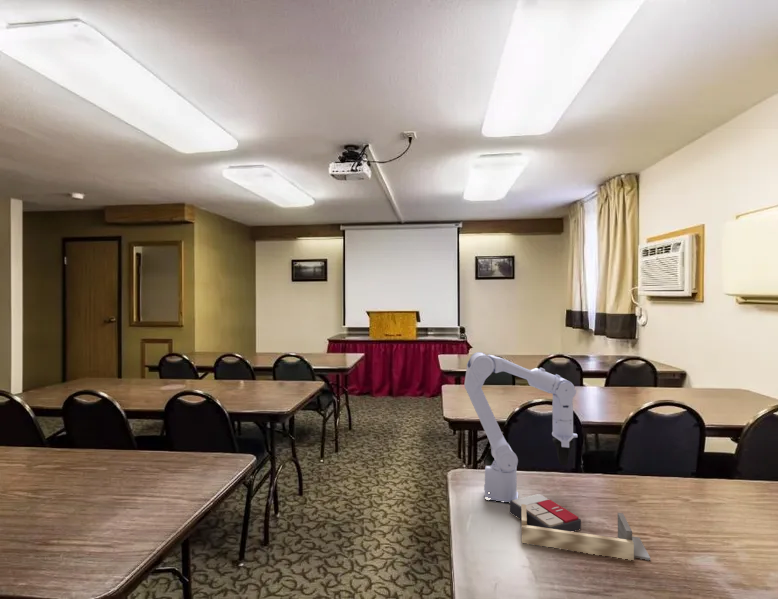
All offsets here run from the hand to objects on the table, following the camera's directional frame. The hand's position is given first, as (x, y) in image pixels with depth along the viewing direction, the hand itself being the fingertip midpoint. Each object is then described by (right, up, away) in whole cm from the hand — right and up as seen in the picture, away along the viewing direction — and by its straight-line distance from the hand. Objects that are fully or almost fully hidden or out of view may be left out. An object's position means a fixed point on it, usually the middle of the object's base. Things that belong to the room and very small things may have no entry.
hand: (563, 464), depth 126 cm
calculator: (-10, -11, -13) cm, 20 cm away
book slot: (-5, -10, -23) cm, 26 cm away
